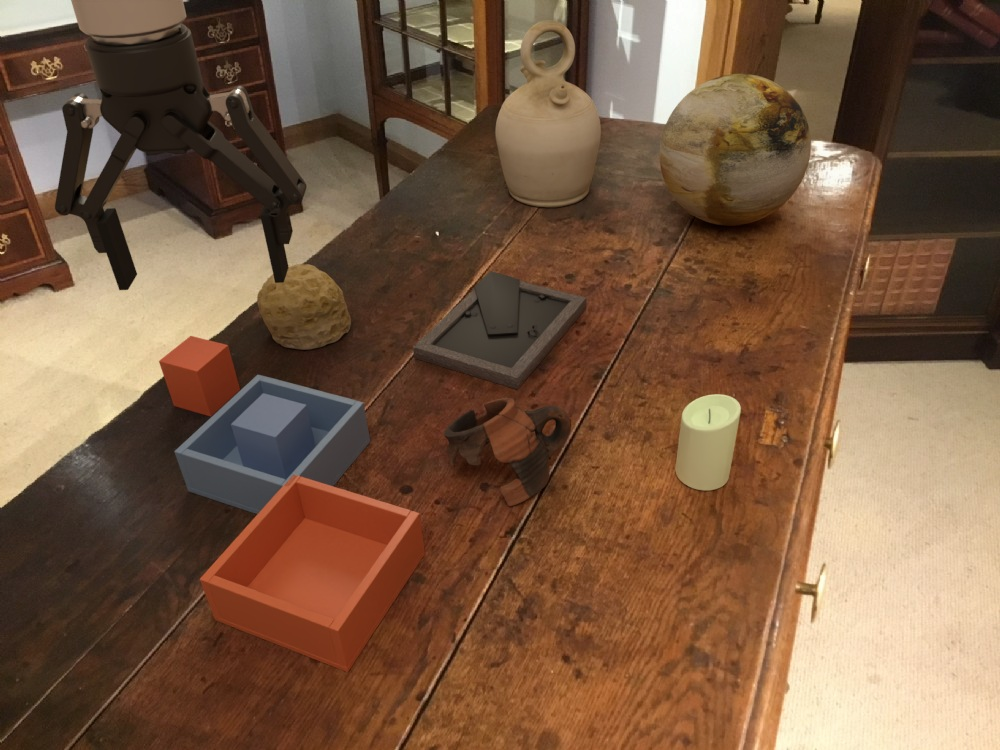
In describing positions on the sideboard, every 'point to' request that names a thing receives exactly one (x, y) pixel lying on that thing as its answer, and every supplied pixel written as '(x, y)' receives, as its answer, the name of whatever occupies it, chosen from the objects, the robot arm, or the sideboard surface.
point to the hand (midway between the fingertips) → (205, 279)
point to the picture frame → (501, 330)
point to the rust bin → (316, 570)
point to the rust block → (200, 375)
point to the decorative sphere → (735, 149)
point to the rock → (304, 308)
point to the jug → (548, 130)
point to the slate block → (274, 435)
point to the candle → (707, 441)
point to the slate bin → (225, 479)
